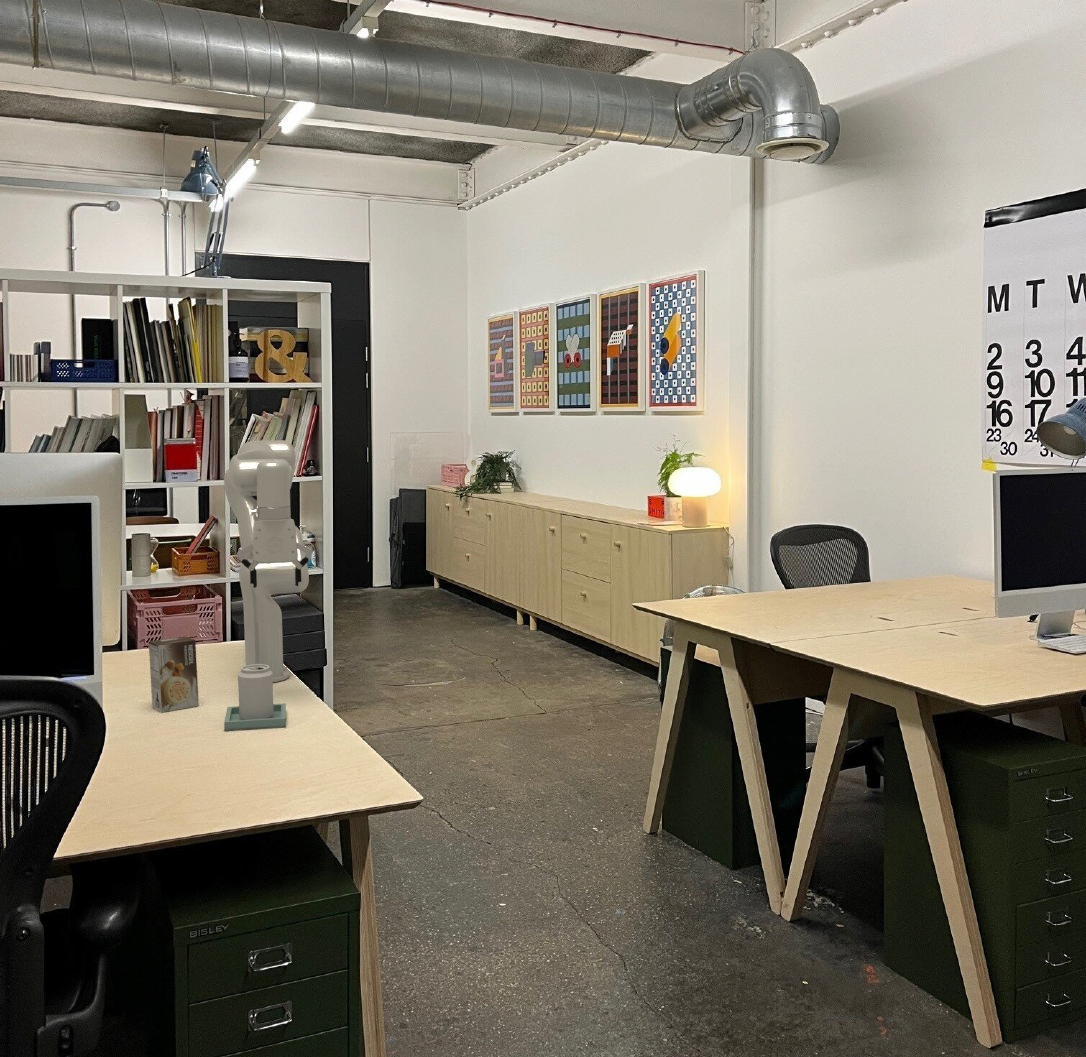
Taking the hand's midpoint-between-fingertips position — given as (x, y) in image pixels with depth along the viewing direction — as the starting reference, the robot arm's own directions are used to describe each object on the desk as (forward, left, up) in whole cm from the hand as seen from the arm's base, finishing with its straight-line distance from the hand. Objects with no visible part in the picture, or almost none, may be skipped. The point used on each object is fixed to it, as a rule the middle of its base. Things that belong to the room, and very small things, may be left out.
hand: (276, 586), depth 260 cm
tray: (+15, -5, -28) cm, 32 cm away
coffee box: (-2, -24, -28) cm, 37 cm away
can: (+15, -5, -28) cm, 32 cm away
